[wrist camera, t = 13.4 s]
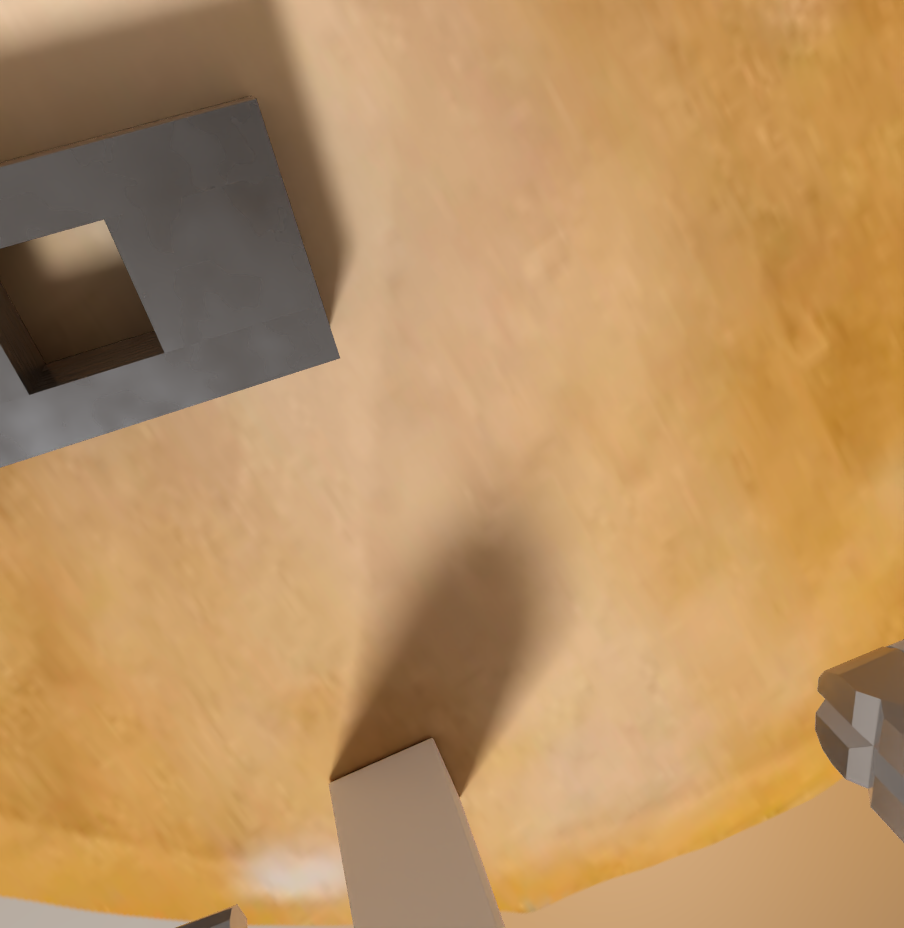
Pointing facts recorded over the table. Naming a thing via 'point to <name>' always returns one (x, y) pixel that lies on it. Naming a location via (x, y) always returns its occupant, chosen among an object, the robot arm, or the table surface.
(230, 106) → the post block
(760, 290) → the table surface
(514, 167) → the table surface
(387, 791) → the milk carton
